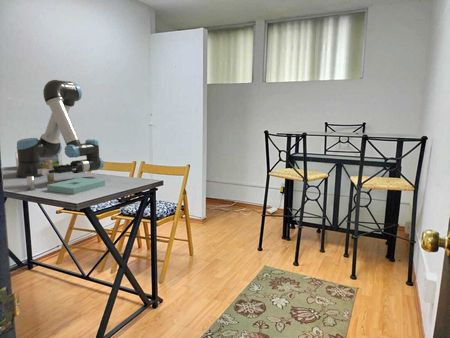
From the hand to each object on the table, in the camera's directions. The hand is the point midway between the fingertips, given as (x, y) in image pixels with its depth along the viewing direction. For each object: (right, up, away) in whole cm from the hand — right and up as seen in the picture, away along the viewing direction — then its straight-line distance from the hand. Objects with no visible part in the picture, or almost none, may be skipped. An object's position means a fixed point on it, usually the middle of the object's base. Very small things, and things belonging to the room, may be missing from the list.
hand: (40, 172), depth 171 cm
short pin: (-2, -9, -5) cm, 11 cm away
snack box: (-29, +2, +58) cm, 65 cm away
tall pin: (+3, -7, +6) cm, 10 cm away
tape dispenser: (-44, +3, +65) cm, 78 cm away
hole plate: (+20, -9, +1) cm, 22 cm away
